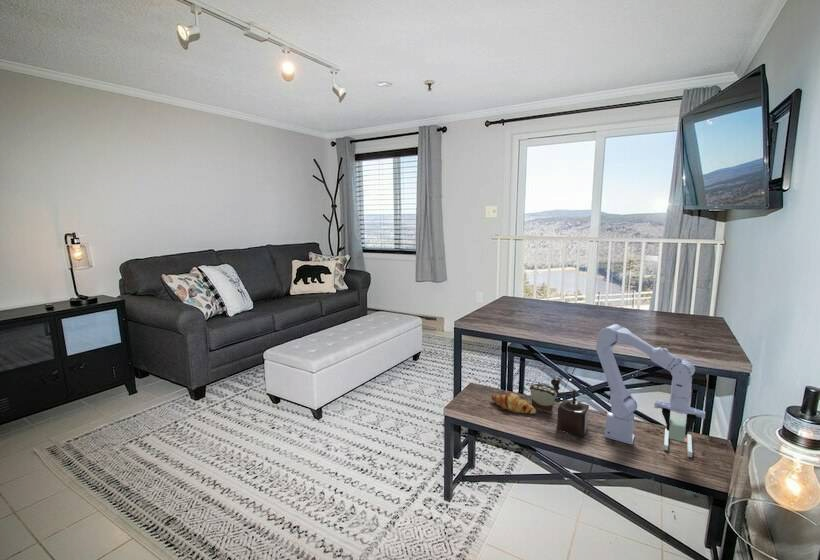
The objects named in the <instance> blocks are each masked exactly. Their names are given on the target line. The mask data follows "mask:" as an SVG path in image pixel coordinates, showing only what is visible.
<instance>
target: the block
mask: <svg viewBox="0 0 820 560" xmlns="http://www.w3.org/2000/svg"><path fill="white" fill-rule="evenodd" d="M669 422H670V426H669V438H668V439H670V440H675V441H679V442H682V443H685V442H684V441H685V438H686V435H685V431H686V419H681V418H678V417H673V416H670V421H669Z"/></svg>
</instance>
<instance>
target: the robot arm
mask: <svg viewBox="0 0 820 560" xmlns="http://www.w3.org/2000/svg"><path fill="white" fill-rule="evenodd" d="M596 338H597V339H596V345H595V351H596V353H597V356H598V359H599V361H600V364H601V367H602V368H601V369H602V371H603V373H604V375H605V379H606V381H607V385H608V387H609V390H610V392H611V394H610V399H609V401H610V404H611V406H610V411H607V414H606V420H605V427H604V430H605V431H604V432H605V433H604V438H606V439H611V440H613V441H617V442H620V443H621V442H622V443H625V444H629V445H633V444H634V438H635V434H634V426H635V425H634V423H635V415H634V412H636V411H637V409H638V403H637V401H636V399H635V398H634V397H633V395H632V394H631V392H630V391H629V390H628V389H627V388H626V385H625V383H624V380H623V377H622V375H621V372H620V369H619V366H618V364H617V361H616V358H615V355H614V353H613V349H614V348H615V346H616V345H617V344H627V345H630V346H632V347H633V348H635V349H637V350H639V351H640V352H642V353H644V354H646V355H648V356H649V359H650V360H651V362H653V363H655V364H657V365H658V366H659V367H661V368H663V369H665V370H666V371H668V372H670V374H671V376H672V380H671V387H670V395H669V396H670V397H669V401H668V402H667V401H666V402H665V401H658V400H654V409H660V410H661V414H662V415H663V418H664V421H665V425H666V429H667V430H668V431H669V426H670V417H671V412H675V413H677V414H681V415H682V414H683V415H684V414H685V415H686V419H685V423H686V431H685V436H687V434H689V430H690V428H691V427H692V425H694V424H695V422H696V420H697V417H698V418H701V419H705V420H706V411H704V410H701V409H698V408H694V407H691V406H690V404H691V397H692V396H691V395H692V387H693V385H692V382H693V375H694V374H695V372H696V367H695V365H694V364H693V362H691V361H690V360H689V359H686V358H685V359H683V358H682V357H681V356H679V357H678V356H676V355H674V354H673V353H671V352H669V349H668V348H666V347H664V348H662V347H660V346H659V347H654V346H652V345H651V344H649V342H647V341H645V340H644V339H642V338H640V337H639V336H637V335H636V334H634V333H633V332H631V331H630V330H629V329H628V328H626V327H623V326H622V325H620V324H618V323H613V324H611V325H608V326H607V327H603V328H601V329H600V330H599V332H598V333H597V334H596Z"/></svg>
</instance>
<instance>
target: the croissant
mask: <svg viewBox="0 0 820 560" xmlns="http://www.w3.org/2000/svg"><path fill="white" fill-rule="evenodd" d="M491 401H492V402H494V403H495V405H497V406H498V405H499V406H501V407H500V408H502V409H503V408H504V410H505V409H507V410H506V411H509V410H510V411H509V412H511V411H513V412H512V413H520V414H530V415H532V414H536V413H537V409H536V408H534V407H533V406H532V405H531V403H529V402H528V401H527V400H526V399H523V398H520V396H519V395H517V394H516V393H513V392H508V393H507V394H501V395H500V394H499V395H497V394H496V395H492V396H491ZM499 406H498V407H499Z"/></svg>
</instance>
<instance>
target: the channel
mask: <svg viewBox="0 0 820 560" xmlns="http://www.w3.org/2000/svg"><path fill="white" fill-rule="evenodd" d="M663 436H664V439H663V440H664V441H663V450H664V451H667V452H668V450H669V439H670V438H669V431H668V430H667V428H665V429H664V435H663ZM692 440H693V439H692V434H689V433H687V435H686V437H685V441H684V442H683V443H685V444H686V448H687V450H686V452H687V457H689V458H693V443H692Z"/></svg>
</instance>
